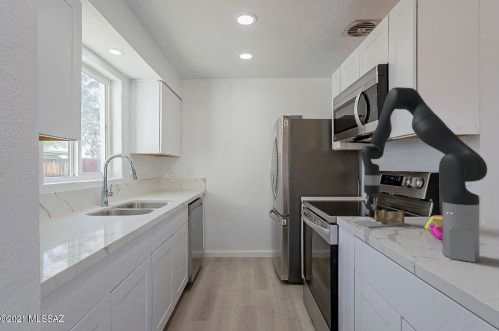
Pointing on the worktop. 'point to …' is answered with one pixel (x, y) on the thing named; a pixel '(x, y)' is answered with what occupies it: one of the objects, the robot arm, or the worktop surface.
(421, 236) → the worktop surface
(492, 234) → the worktop surface
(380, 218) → the fence gate
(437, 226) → the toy
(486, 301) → the worktop surface
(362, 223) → the mat
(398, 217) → the fence fixed
